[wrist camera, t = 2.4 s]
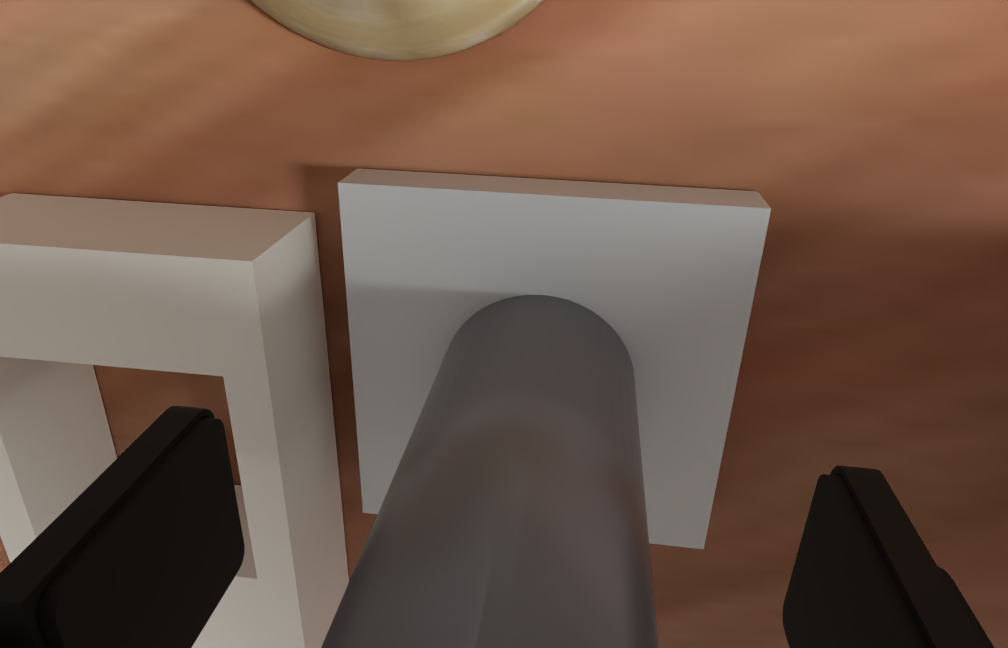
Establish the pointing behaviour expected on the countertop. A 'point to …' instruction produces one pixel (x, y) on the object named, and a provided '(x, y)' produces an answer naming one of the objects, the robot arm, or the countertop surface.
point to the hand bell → (398, 24)
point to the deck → (565, 274)
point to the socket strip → (185, 349)
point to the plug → (514, 497)
